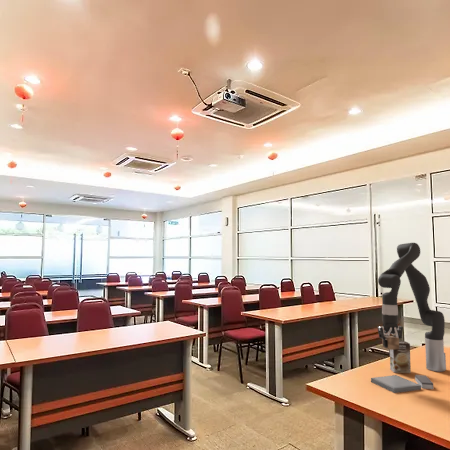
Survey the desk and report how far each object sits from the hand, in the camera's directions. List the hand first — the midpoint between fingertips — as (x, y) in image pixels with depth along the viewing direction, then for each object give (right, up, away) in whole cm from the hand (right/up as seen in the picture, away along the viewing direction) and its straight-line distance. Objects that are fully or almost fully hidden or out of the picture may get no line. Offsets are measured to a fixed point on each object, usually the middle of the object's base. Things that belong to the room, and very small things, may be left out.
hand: (390, 347), depth 186 cm
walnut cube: (0, -1, 0) cm, 1 cm away
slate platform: (0, -18, -4) cm, 18 cm away
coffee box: (+14, -20, +19) cm, 31 cm away
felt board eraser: (+16, -18, -2) cm, 24 cm away
